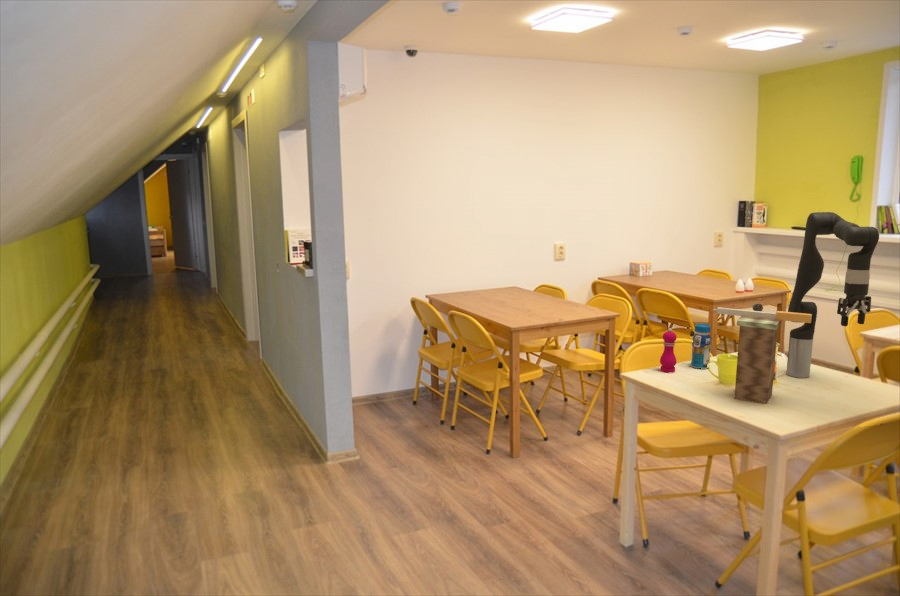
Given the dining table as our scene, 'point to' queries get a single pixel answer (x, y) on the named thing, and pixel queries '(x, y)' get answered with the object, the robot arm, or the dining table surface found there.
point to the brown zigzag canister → (756, 358)
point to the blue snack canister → (701, 346)
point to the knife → (767, 314)
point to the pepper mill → (668, 352)
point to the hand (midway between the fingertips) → (852, 324)
